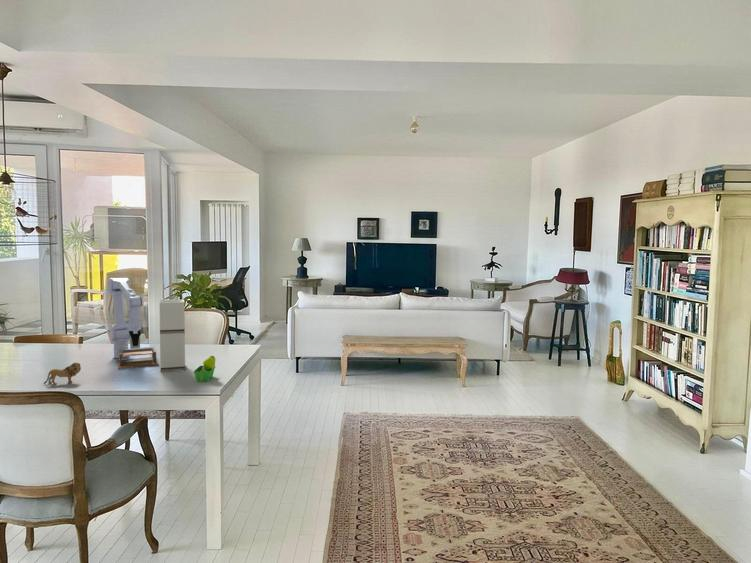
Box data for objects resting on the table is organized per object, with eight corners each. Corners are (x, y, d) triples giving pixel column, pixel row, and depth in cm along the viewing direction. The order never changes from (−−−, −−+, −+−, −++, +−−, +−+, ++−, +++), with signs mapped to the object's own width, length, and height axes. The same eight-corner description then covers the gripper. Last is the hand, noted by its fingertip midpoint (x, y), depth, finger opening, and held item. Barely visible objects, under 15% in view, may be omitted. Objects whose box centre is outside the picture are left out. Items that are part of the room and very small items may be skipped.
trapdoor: (122, 355, 264) (122, 349, 264) (151, 352, 271) (151, 346, 271) (123, 359, 255) (123, 353, 255) (152, 356, 262) (152, 350, 262)
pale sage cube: (130, 347, 261) (130, 337, 261) (139, 346, 263) (139, 337, 263) (130, 348, 257) (130, 339, 257) (140, 348, 259) (139, 338, 259)
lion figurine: (81, 379, 232) (81, 360, 231) (80, 382, 227) (80, 363, 226) (44, 383, 225) (43, 363, 224) (42, 386, 220) (41, 366, 219)
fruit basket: (200, 375, 243) (199, 353, 242) (218, 375, 243) (218, 353, 242) (193, 382, 231) (192, 358, 231) (212, 382, 232) (212, 358, 231)
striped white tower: (184, 365, 262) (184, 299, 259) (185, 370, 252) (184, 301, 249) (161, 366, 257) (160, 299, 255) (160, 372, 248) (159, 302, 245)
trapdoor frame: (117, 361, 266) (116, 349, 266) (156, 358, 275) (156, 346, 275) (117, 369, 251) (117, 356, 250) (159, 365, 260) (158, 353, 259)
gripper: (125, 317, 263) (126, 342, 265) (126, 321, 251) (127, 348, 252) (140, 316, 267) (140, 341, 268) (141, 321, 254) (142, 347, 255)
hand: (135, 344), depth 260 cm, fingers closed on pale sage cube, 4 cm apart
